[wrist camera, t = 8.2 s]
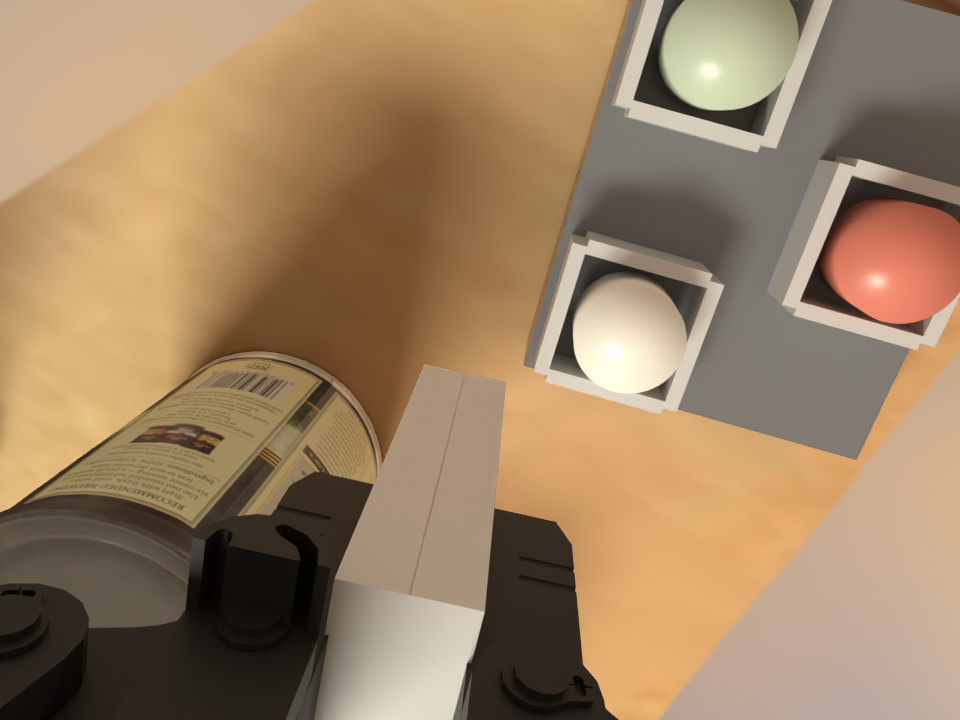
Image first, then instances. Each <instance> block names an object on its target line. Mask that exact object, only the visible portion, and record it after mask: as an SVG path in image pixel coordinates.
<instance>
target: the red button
mask: <svg viewBox="0 0 960 720" xmlns="http://www.w3.org/2000/svg"><path fill="white" fill-rule="evenodd" d="M819 266H820V270H821V274H822V276H823V279H824V280H825V282H826V284H827V285H828V286H829V288H830V289H831V290H832V291H833V292H834V293H835V294H837V295H838V296H840V297H841V298H842V299H844V300H846V301H847V302H849V303H850V304H852V305H853V306H855V307H856V308H858V309H859V310H861V311H862V312H864V313H866V314H867V315H869V316H871V317H872V318H874V319H877V320H880V321H882V322H887V323H894V324H906V323H913V322H917V321H921V320H924V319H926V318H929V317H931V316H933V315H935V314H936V313H938V312H940V311H941V310H943V309H944V308H945V307H946V306H948V305H949V304H950V303H951V302H952V301H953V300H954V299H955V298H956V297H957V295H958V294H959V293H960V223H959V222H958V221H957V220H956V219H955V218H953V217H952V216H950V215H949V214H947V213H945V212H943V211H941V210H939V209H936V208H932V207H928V206H924V205H920V204H916V203H912V202H908V201H904V200H900V199H895V198H889V197H878V198H871V199H867V200H864V201H861V202H859V203H856V204H854V205H852V206H851V207H849V208H847V209H846V210H845V211H843V212H842V213H841V214H840V215H839V216H838V217H837V218H835V220H834V221H833V222H832V225H831V227H830V230H829V232H828V234H827V237H826V239H825V242H824V244H823V246H822V249H821V251H820V254H819Z"/></svg>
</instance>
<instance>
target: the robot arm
mask: <svg viewBox="0 0 960 720" xmlns="http://www.w3.org/2000/svg"><path fill="white" fill-rule="evenodd" d="M505 386H506V382H503V381H499V380H494V379H490V378H485V377H481V376H476V375H472V374H467V373H463V372H458V371H454V370H449V369H445V368H440V367H436V366H431V365H427V364H424V366H423V368H422V371H421V373H420V376H419V378H418V380H417V383H416V385H415V387H414V390H413V392H412V395H411V397H410V399H409V402H408V404H407V407H406V409H405V411H404V414H403V416H402V419H401V421H400V423H399V426H398V428H397V430H396V433H395V435H394V438H393V440H392V442H391V445H390V447H389V450H388V452H387V454H386V457H385V459H384V462H383V464H382V466H381V469H380V471H379V473H378V476H377V478H376V481H375V483H374V484H370V483H366V482H361V481H357V480H352V479H348V478H343V477H339V476H334V475H330V474H325V473H321V472H316V471H315V472H313V473H311V474H309V475H308V476H306V477H304V478H302V479H300V480H298V481H297V482H295V483H293V484H291V485H290V486H289V488H288V489H287V491H286V492H285V494H284V495H283V497H282V499H281V500H280V502H279V503H278V505H277V508H276V509H275V510H274V511H273V513H272V514H271V515H262V514H252V515H242V516H232V517H229V518H226V519H223V520H220V521H218V522H215V523H212V524H209V525H208V526H206V527H205V528H204V529H203V530H201V531H200V532H199V533H198V534H196V535H195V536H194V537H193V540H192V550H191V559H190V569H189V579H188V588H187V598H186V608H185V611H184V612H183V614H182V615H181V617H180V618H179V619H178V620H177V621H173V622H169V623H165V624H161V625H154V626H143V627H116V628H89V617H88V615H87V612H86V610H85V608H84V605H83V603H82V602H81V601H80V600H79V599H77V598H76V597H74V596H73V595H71V594H70V593H68V592H67V591H66V590H63V589H59V588H55V587H51V586H47V585H43V584H39V583H8V584H4V585H0V720H618V719H617V718H616V717H615V716H613V715H612V714H611V713H610V712H609V711H607V709H606V708H605V704H604V699H603V696H602V694H601V691H600V688H599V685H598V683H597V681H596V680H595V678H594V677H593V676H592V675H591V674H590V673H589V671H588V670H587V669H586V668H585V667H584V665H583V660H582V649H581V639H580V628H579V617H578V607H577V596H576V592H575V588H576V585H575V575H574V572H573V570H574V564H573V553H572V545H571V543H570V542H569V540H568V539H567V537H566V536H565V535H564V533H563V532H562V530H561V529H560V527H559V526H558V525H557V523H556V522H553V521H549V520H544V519H540V518H535V517H531V516H526V515H522V514H517V513H513V512H508V511H504V510H499V509H495V508H494V506H495V495H496V484H497V473H498V462H499V451H500V440H501V430H502V419H503V408H504V397H505Z"/></svg>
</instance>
